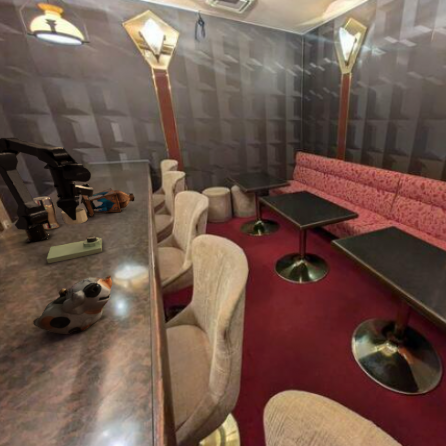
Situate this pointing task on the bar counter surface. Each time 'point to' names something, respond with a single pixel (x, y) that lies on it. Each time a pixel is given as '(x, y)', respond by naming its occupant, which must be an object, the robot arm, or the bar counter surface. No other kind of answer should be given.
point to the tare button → (91, 239)
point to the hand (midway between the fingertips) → (74, 217)
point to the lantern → (107, 201)
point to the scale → (74, 250)
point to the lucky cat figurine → (76, 306)
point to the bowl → (80, 217)
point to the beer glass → (50, 209)
